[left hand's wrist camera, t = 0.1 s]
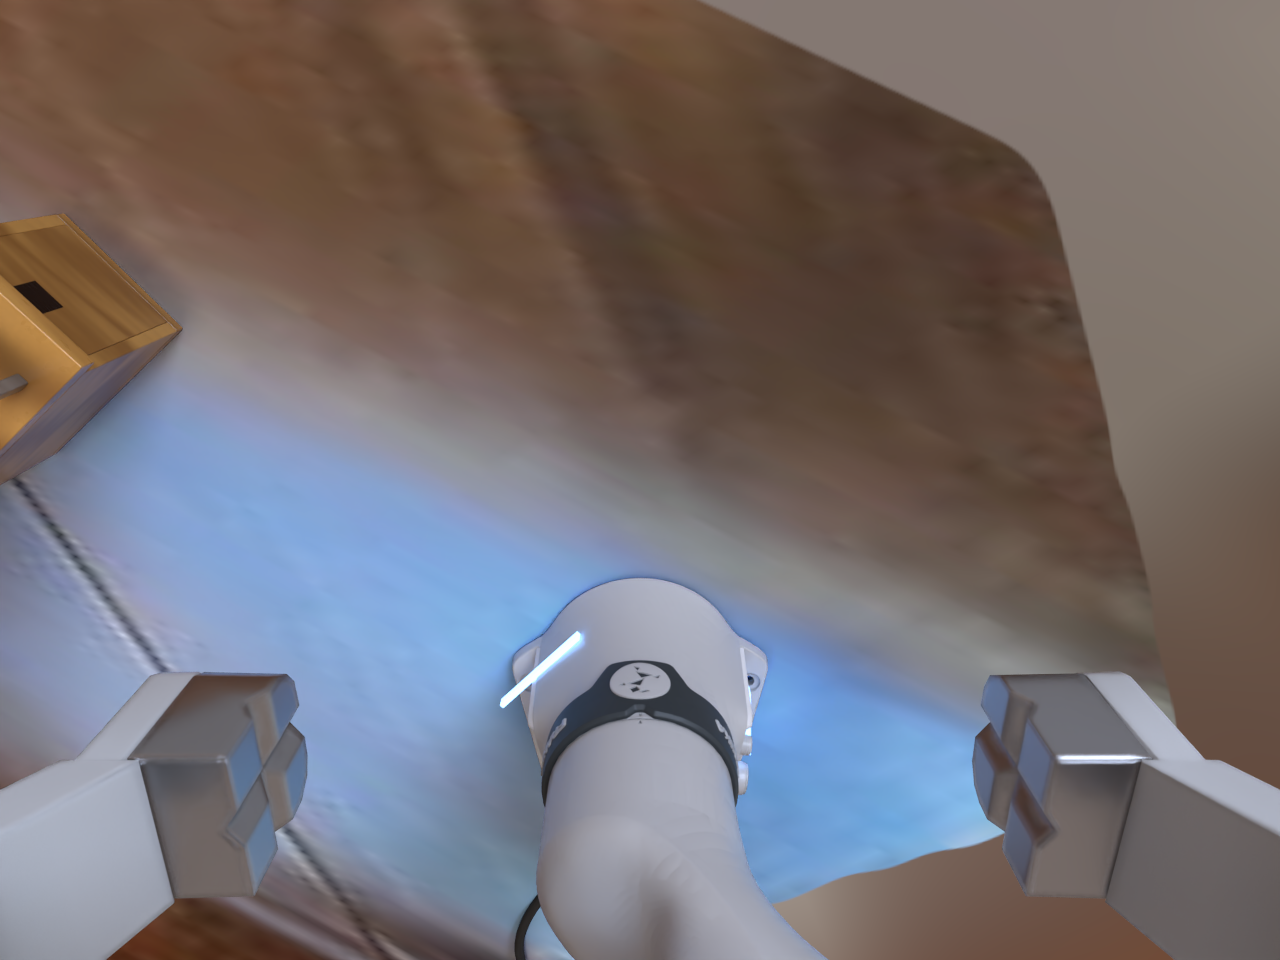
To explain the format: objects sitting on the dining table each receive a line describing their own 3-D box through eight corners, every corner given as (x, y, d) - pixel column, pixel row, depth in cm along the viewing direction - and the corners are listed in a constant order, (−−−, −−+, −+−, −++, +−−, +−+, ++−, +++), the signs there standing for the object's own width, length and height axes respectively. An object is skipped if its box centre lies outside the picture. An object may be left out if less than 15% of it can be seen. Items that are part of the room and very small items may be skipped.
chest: (64, 212, 55) (-68, 233, 44) (183, 328, 57) (84, 372, 47) (-63, 349, 58) (-213, 398, 48) (56, 453, 60) (-62, 520, 50)
